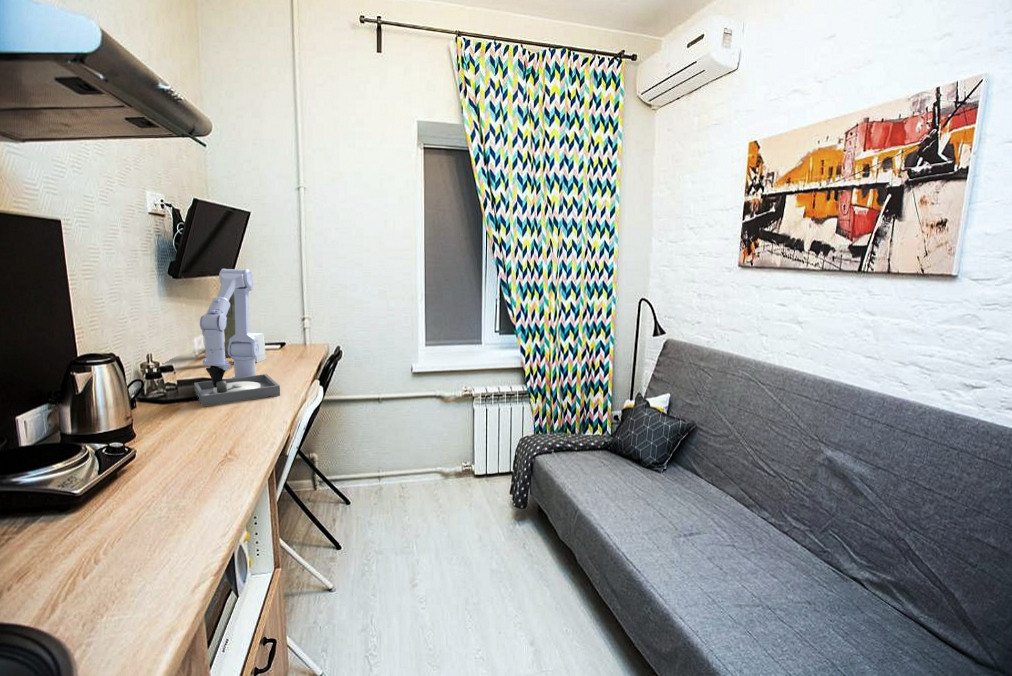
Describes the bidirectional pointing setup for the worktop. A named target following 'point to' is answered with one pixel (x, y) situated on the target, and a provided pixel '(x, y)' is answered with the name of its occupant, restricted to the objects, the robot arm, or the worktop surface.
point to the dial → (234, 386)
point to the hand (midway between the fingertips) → (217, 386)
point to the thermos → (230, 324)
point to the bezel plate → (266, 389)
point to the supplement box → (261, 344)
